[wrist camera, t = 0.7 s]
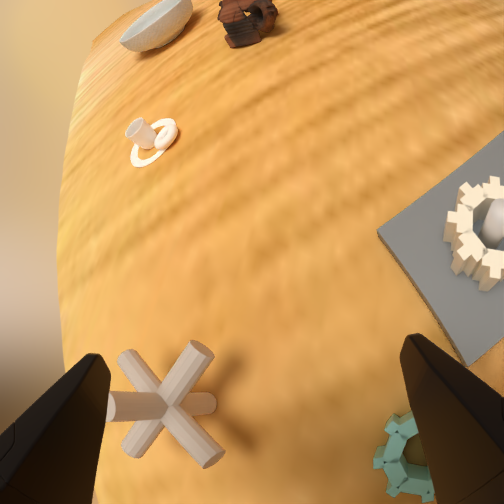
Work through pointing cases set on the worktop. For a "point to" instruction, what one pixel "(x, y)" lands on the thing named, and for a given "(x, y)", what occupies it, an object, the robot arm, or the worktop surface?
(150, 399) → the pipe connector
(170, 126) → the teacup and saucer
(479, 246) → the cream gear
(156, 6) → the cereal bowl
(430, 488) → the teal gear
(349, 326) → the worktop surface
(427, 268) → the gear board
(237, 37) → the pottery mug
